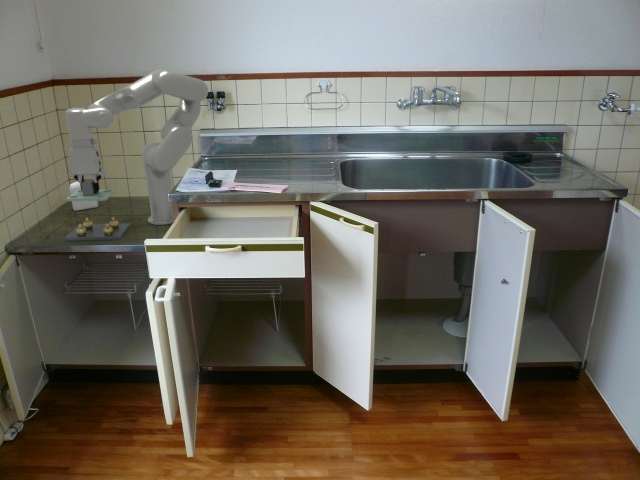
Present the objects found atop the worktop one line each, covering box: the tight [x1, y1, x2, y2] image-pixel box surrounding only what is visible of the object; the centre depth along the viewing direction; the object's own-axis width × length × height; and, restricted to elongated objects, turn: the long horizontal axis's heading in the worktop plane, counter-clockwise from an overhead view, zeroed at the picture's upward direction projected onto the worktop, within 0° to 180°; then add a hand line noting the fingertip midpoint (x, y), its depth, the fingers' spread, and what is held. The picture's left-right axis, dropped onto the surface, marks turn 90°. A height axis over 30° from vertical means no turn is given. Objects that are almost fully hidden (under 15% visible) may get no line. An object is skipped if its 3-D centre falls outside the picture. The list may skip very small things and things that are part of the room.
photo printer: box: [69, 181, 99, 212], centre depth 229 cm, size 10×4×12 cm, turn 123°
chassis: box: [64, 216, 131, 242], centre depth 203 cm, size 20×14×5 cm
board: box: [65, 178, 116, 202], centre depth 197 cm, size 14×11×6 cm
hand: (90, 191), depth 197 cm, fingers closed on board, 3 cm apart
